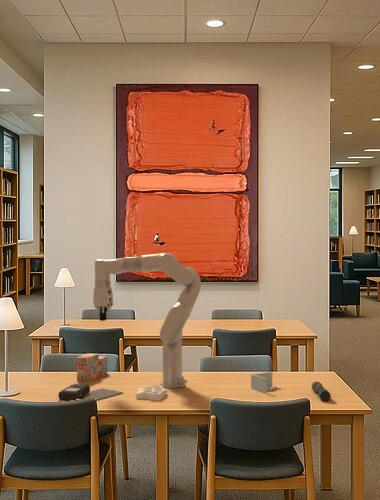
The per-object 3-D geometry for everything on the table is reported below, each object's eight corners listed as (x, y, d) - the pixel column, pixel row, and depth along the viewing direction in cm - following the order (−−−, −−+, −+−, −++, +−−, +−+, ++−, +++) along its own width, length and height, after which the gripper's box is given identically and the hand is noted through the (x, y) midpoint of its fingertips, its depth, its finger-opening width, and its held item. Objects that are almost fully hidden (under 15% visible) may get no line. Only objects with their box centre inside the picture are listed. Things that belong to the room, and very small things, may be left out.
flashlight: (320, 402, 336) (319, 391, 336) (310, 390, 358) (310, 380, 357) (330, 401, 336) (331, 390, 336) (320, 390, 358) (320, 380, 358)
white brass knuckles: (138, 392, 358) (169, 392, 358) (135, 401, 340) (167, 401, 340) (138, 385, 358) (168, 385, 358) (135, 394, 340) (167, 393, 340)
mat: (123, 393, 354) (123, 392, 354) (96, 400, 340) (96, 399, 340) (102, 389, 363) (102, 388, 363) (74, 396, 348) (74, 395, 348)
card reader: (90, 383, 353) (76, 392, 338) (91, 392, 353) (76, 401, 339) (73, 382, 356) (58, 391, 341) (73, 390, 356) (58, 400, 342)
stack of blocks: (97, 372, 403) (96, 350, 402) (107, 373, 400) (107, 350, 400) (76, 380, 383) (76, 357, 382) (87, 381, 381) (87, 357, 380)
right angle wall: (265, 394, 352) (265, 378, 352) (251, 389, 363) (251, 374, 362) (285, 391, 358) (285, 376, 358) (271, 386, 368) (271, 371, 368)
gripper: (118, 284, 371) (119, 320, 372) (97, 282, 380) (97, 318, 381) (108, 285, 365) (108, 322, 366) (86, 283, 374) (87, 320, 375)
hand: (103, 320), depth 373 cm, fingers closed
